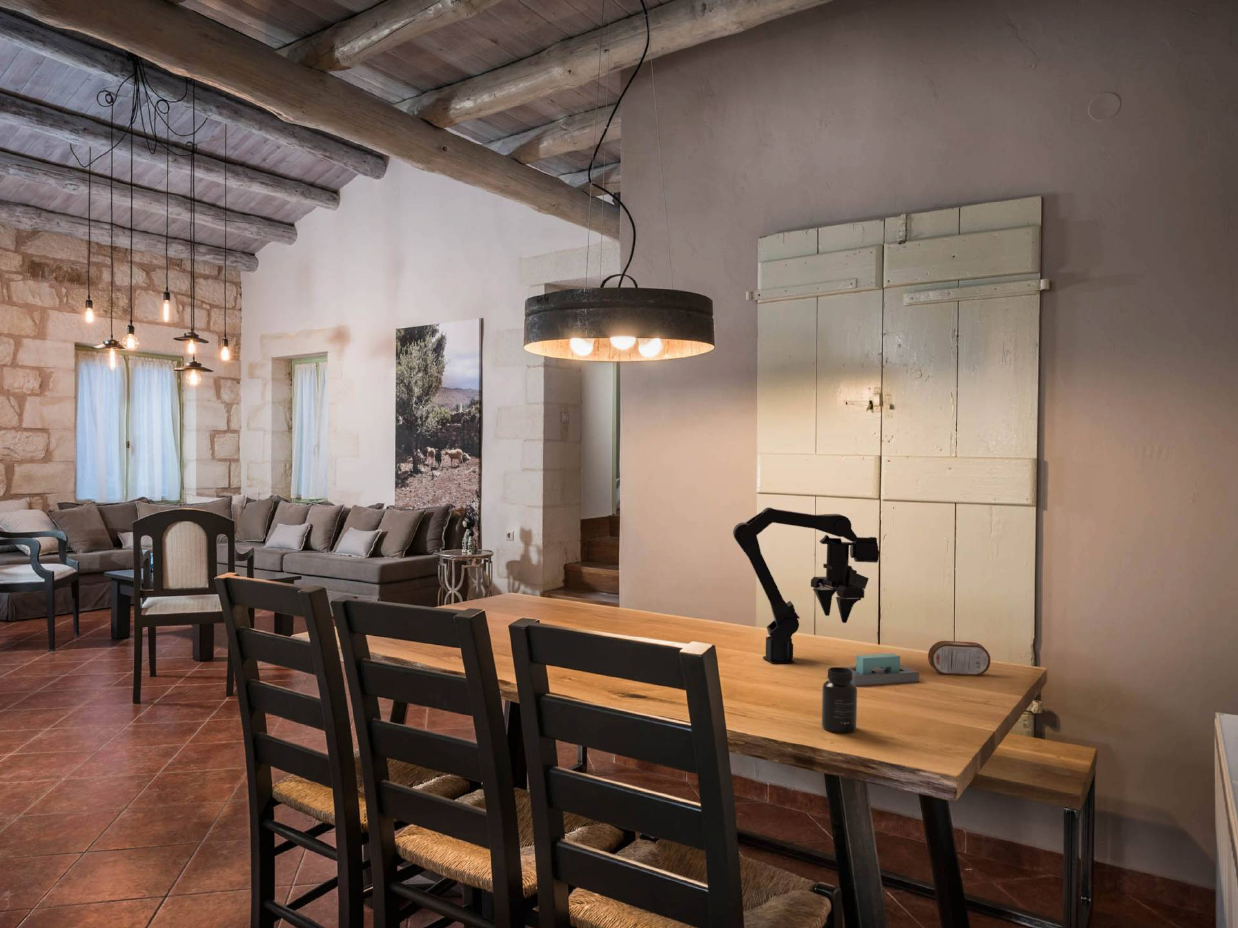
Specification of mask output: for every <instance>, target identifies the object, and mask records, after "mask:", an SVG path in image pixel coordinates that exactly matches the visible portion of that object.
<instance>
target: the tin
mask: <svg viewBox="0 0 1238 928" xmlns="http://www.w3.org/2000/svg"><path fill="white" fill-rule="evenodd" d="M927 659H928V660H927V661H928V663H929V665H930V666H931V668H933V669H934V670H935V671H936V672H937V673H939V674H941V675H948V676H965V677H966V676H967V677H968V676H969V677H978V676H981V675H983V674H985V673H986V672H987V671H988V670H989V668H990V666H991V655H990V653H989V652H988V650H987V649H986V648H985V647H984V646H983V644H981V643H978V642H975V641H974V642H973V641H955V640H940V641H937V642H935V643H934V644H933V645H931V647H930V648H929V651H928V654H927Z"/></svg>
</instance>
